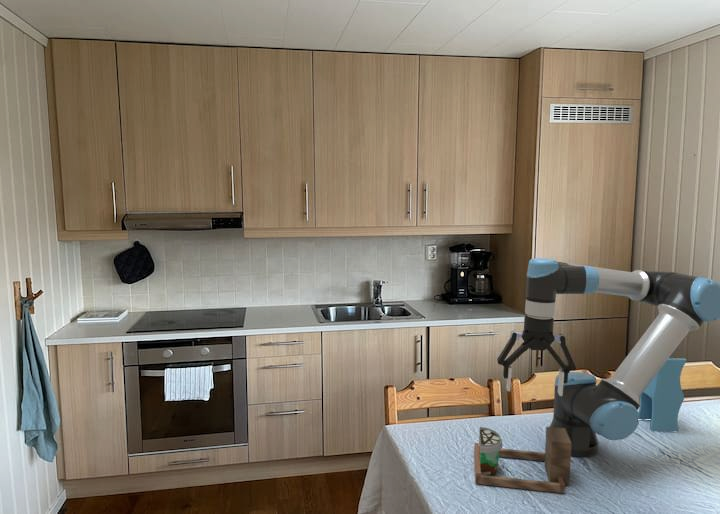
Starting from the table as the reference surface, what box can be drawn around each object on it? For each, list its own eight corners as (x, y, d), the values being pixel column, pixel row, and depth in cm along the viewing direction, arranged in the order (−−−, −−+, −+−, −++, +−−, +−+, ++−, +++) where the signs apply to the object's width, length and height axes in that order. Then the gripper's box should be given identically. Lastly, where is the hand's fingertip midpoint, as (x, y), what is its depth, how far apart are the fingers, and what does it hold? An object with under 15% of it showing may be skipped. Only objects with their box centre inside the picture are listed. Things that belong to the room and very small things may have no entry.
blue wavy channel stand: (680, 432, 170) (687, 359, 167) (651, 431, 170) (656, 359, 167) (663, 419, 180) (669, 350, 177) (635, 418, 180) (640, 350, 177)
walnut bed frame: (559, 460, 151) (562, 421, 149) (572, 494, 134) (575, 450, 132) (474, 452, 155) (475, 414, 154) (475, 483, 139) (477, 441, 137)
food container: (503, 482, 140) (504, 448, 138) (480, 480, 141) (481, 445, 140) (499, 459, 152) (501, 427, 150) (478, 457, 153) (479, 425, 152)
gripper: (584, 316, 139) (578, 391, 142) (490, 309, 143) (486, 382, 146) (592, 322, 132) (585, 401, 134) (492, 315, 136) (488, 392, 138)
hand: (533, 392), depth 140 cm, fingers open, 13 cm apart
